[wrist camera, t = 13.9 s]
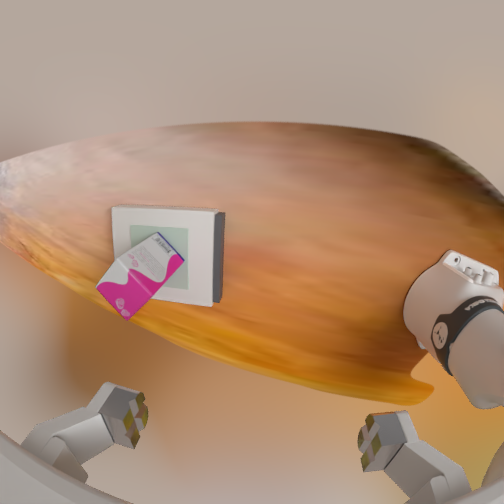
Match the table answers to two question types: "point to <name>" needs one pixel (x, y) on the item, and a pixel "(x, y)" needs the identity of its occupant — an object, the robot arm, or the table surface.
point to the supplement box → (139, 274)
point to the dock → (178, 247)
